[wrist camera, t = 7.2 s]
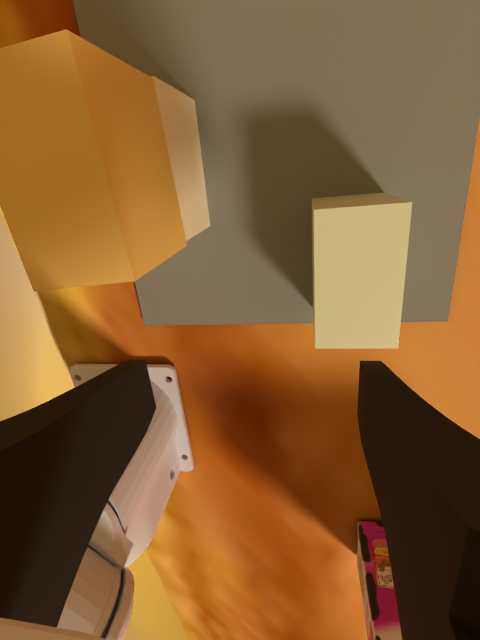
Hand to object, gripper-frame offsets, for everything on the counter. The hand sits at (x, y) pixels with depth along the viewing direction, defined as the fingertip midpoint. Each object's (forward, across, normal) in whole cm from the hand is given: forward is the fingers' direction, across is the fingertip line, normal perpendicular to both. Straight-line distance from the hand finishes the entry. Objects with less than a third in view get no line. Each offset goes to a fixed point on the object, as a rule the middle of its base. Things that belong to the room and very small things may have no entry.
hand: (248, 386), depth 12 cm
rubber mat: (+10, 0, -7) cm, 12 cm away
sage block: (+10, -4, -2) cm, 10 cm away
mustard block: (+4, +5, -7) cm, 10 cm away
